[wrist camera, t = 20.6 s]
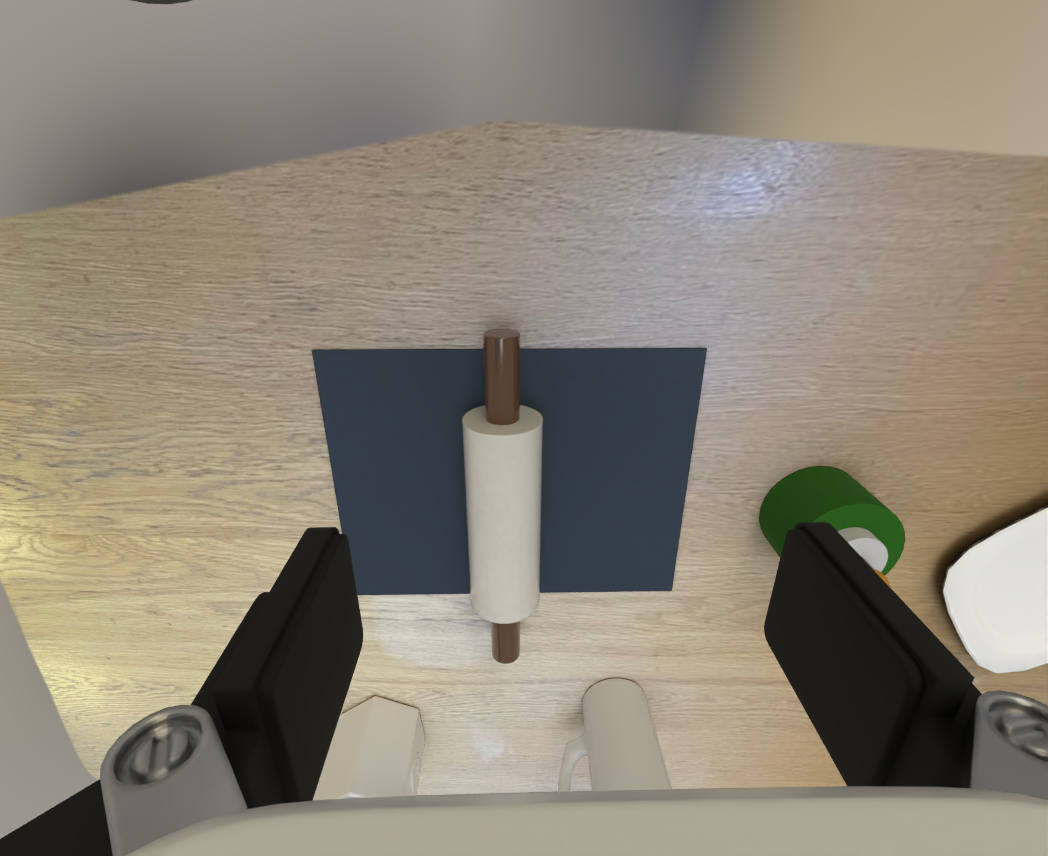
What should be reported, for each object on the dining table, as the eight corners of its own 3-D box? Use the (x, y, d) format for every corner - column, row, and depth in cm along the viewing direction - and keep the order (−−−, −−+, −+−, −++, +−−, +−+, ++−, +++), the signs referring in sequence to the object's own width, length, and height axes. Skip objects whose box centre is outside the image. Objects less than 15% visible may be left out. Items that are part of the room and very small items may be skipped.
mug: (632, 666, 52) (664, 795, 41) (658, 708, 54) (695, 842, 43) (538, 702, 53) (544, 835, 43) (567, 741, 56) (581, 877, 45)
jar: (431, 752, 56) (412, 889, 45) (353, 758, 56) (315, 896, 45) (417, 691, 53) (392, 825, 42) (333, 697, 53) (287, 832, 42)
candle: (738, 513, 45) (797, 598, 36) (822, 446, 42) (907, 519, 33) (798, 566, 47) (866, 658, 38) (880, 506, 45) (974, 589, 36)
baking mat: (353, 593, 47) (352, 595, 47) (312, 349, 38) (311, 350, 38) (671, 589, 48) (671, 590, 48) (706, 347, 39) (707, 348, 39)
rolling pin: (460, 652, 47) (507, 618, 50) (504, 692, 43) (552, 653, 47) (440, 333, 35) (503, 319, 39) (498, 350, 31) (562, 333, 35)
